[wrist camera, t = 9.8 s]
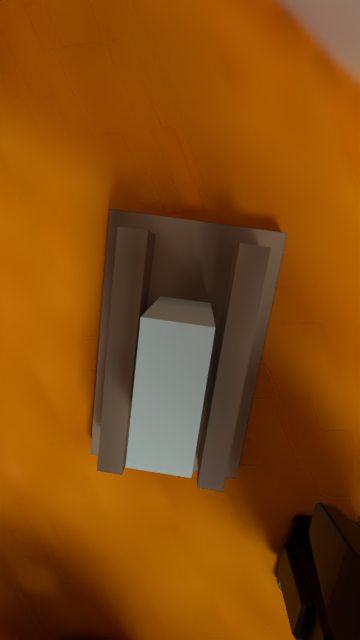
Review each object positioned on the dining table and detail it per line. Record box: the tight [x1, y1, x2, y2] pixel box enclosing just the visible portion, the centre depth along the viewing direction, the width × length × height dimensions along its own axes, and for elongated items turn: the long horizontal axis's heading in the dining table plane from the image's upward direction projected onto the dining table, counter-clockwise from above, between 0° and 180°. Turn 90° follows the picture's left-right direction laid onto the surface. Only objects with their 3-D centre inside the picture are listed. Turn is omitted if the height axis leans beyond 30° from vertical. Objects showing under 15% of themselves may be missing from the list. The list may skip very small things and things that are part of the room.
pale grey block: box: [126, 296, 215, 478], centre depth 16 cm, size 3×7×6 cm, turn 173°
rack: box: [90, 209, 287, 492], centre depth 18 cm, size 10×16×4 cm, turn 172°
